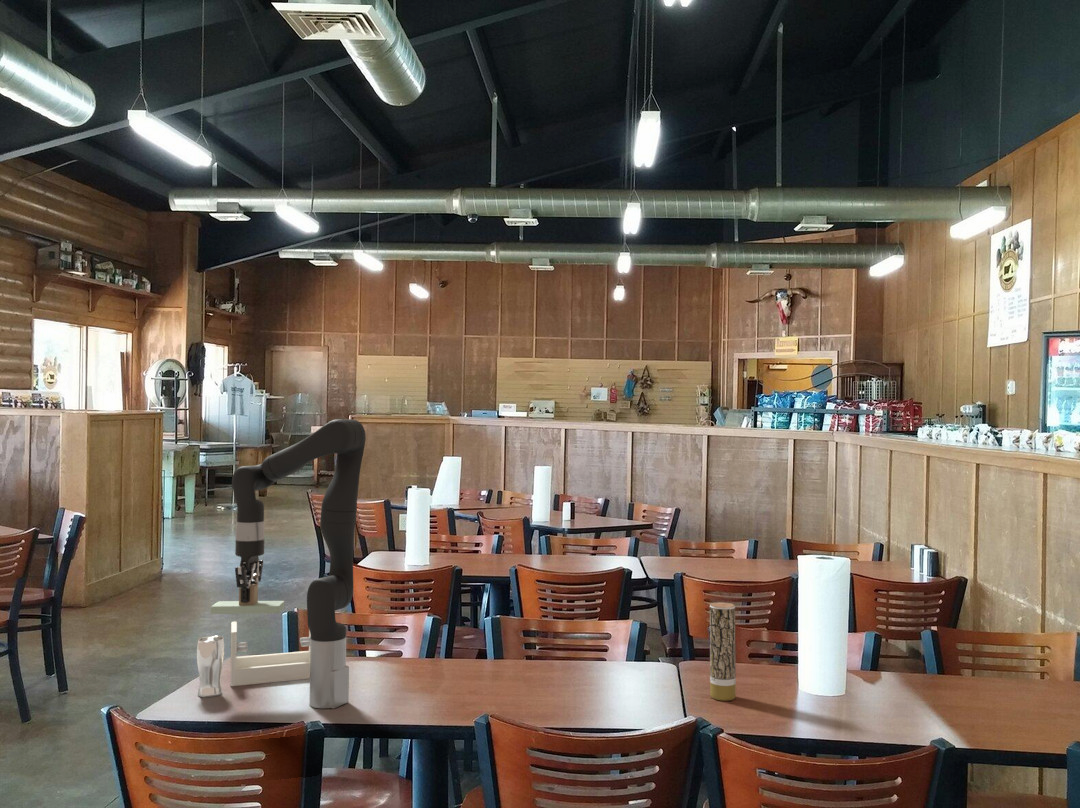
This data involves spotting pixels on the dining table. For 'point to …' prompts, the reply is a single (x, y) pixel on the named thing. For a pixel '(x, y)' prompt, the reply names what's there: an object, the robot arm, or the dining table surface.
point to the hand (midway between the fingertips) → (248, 600)
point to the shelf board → (248, 605)
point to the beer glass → (210, 665)
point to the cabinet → (267, 664)
